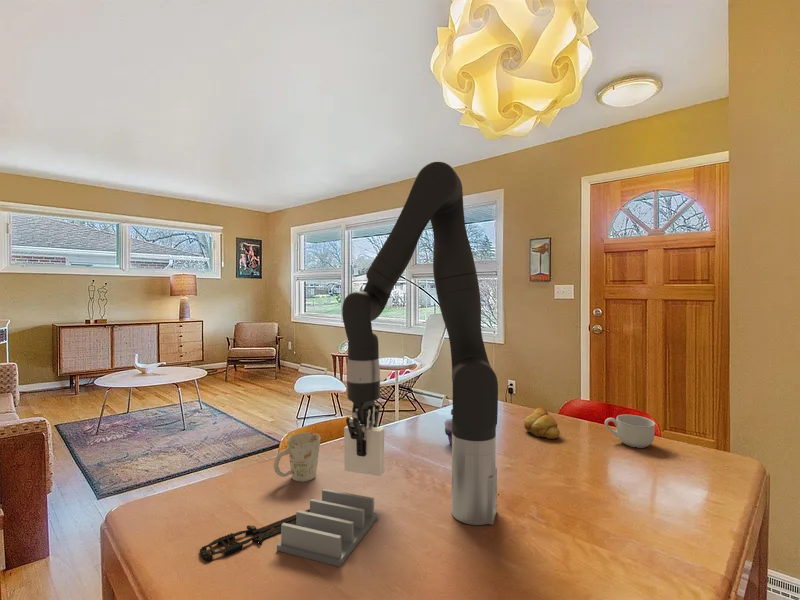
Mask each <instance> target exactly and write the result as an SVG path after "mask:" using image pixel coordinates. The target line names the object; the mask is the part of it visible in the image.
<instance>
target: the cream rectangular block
mask: <svg viewBox="0 0 800 600" xmlns="http://www.w3.org/2000/svg"><path fill="white" fill-rule="evenodd" d="M362 434H363V430H362ZM343 436H344V437H343V443H344V447H343V450H344V455H343V456H344V458H343V460H344V462H343V463H344V464H343V465H344V471H346V472H350V473H351V472H352V473H359V474H365V475H371V476H377V477H381V476H382V475H383V474H384V473H385V470H386V469H385V468H386V467H385V462H386V461H385V428H383V427H369V428H368V429H367V438H366V455H365V456H364V457H363V456H358V455H357V445H356V439H351V436H350V433H349V429H348V426H347V425H346V426H345V427H343Z"/></svg>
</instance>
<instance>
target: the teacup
mask: <svg viewBox="0 0 800 600" xmlns="http://www.w3.org/2000/svg"><path fill="white" fill-rule="evenodd" d="M609 422H613V423H614V426H615V428H616V429H615V430H614V429H612V428H611V427H610V426H609ZM604 426H605V428H606V429H607V430H608V431H609V432H610V433H612V434H613V435H614V436H615V437H616V438H618V439H619V440H620V441H621V442H622V443H623V444H625V445H626V446H629V447H632V448H635V447H637V448H636V449H644V448H646V447H648V446H650V445H652V444H653V442H654V440H655V430H656V429H655V428H656V427H655V426H656V422H655V421H654V420H652V419H650V418H647V417H645V416H640V415H636V414H635V415H634V414H619V415H617V416H616V418H614V417H607V418H606V419H605V421H604Z"/></svg>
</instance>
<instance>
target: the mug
mask: <svg viewBox="0 0 800 600" xmlns="http://www.w3.org/2000/svg"><path fill="white" fill-rule="evenodd" d="M286 442H287V448H284V449H282V450H281V451H279V452H278V454H277V455H276V457H275V459H274V462H273V470H274V472H275V474H276V475H277V476H280V477H288V476H289V475H291V478H292V480H293V481H295V482H303V483H304V482H308V481H312V480H313V479H315V478H316V476H317V470H318V461H319V456H320V455H319V454H320V447H321V436H320V434H318V433H314V432H299V433H296V434H292V435H290V436H289V437H288V438H287V441H286ZM285 455H288V457H289V465H290V470H288V471H286V472H283V471H281V469H280V467H279V463H280V460H281V458H282V457H283V456H285Z"/></svg>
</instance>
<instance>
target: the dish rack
mask: <svg viewBox="0 0 800 600" xmlns="http://www.w3.org/2000/svg"><path fill="white" fill-rule="evenodd" d="M309 509H310V512H306V510H300V509H298V510H297V511H296V513H295V514H296V525H292V524H288V523H283V524H282V525H281V532H280V538H281V539H280V541H279V543H277V544H276V551H278V552H282V553H286V554H290V555H292V556H297V557H300V558H304V559H308V560H312V561H315V562H319V563H320V562H321V563H323V564H328V565H331V566H336V567H340V568H341V566H342V565H343V564H344V562H345V561H346V560H347V559H348V557H349V556H350V555H351V554H352V552H353V551H354V549H355V548H356V547H357V545H358V544H359V543H360V542H361V541H362V539H363V538H364V537H365V535H366V534H367V533H368V531H369V530H370V529H371V527H373V525H374V524H375V522H376V521H377V520H378V513H375V498H374V497H371V496H365V495H360V494H354V493H350V492H349V493H348V492H344V491H339V490H332V489H328V488H323V489H321V500H320V499H315V498H311V499H310V500H309Z"/></svg>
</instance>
